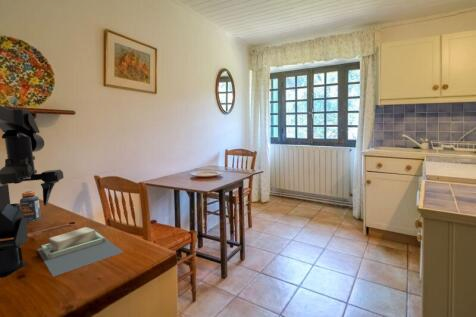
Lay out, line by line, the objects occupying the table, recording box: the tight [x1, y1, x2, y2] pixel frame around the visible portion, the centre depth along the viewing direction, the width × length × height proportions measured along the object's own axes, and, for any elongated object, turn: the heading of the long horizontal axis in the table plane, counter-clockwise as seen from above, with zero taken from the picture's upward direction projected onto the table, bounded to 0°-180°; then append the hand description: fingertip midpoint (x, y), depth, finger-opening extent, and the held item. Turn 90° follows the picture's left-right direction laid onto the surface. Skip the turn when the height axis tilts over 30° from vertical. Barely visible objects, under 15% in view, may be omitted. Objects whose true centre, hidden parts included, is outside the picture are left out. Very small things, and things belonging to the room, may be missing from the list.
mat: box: [36, 238, 124, 278], centre depth 74 cm, size 22×16×1 cm
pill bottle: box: [19, 190, 42, 223], centre depth 106 cm, size 6×6×11 cm
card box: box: [48, 226, 96, 252], centre depth 78 cm, size 10×6×4 cm, turn 145°
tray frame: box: [41, 230, 106, 259], centre depth 78 cm, size 9×14×1 cm, turn 134°
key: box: [27, 221, 77, 238], centre depth 94 cm, size 6×1×15 cm
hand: (27, 207), depth 78 cm, fingers open, 9 cm apart
